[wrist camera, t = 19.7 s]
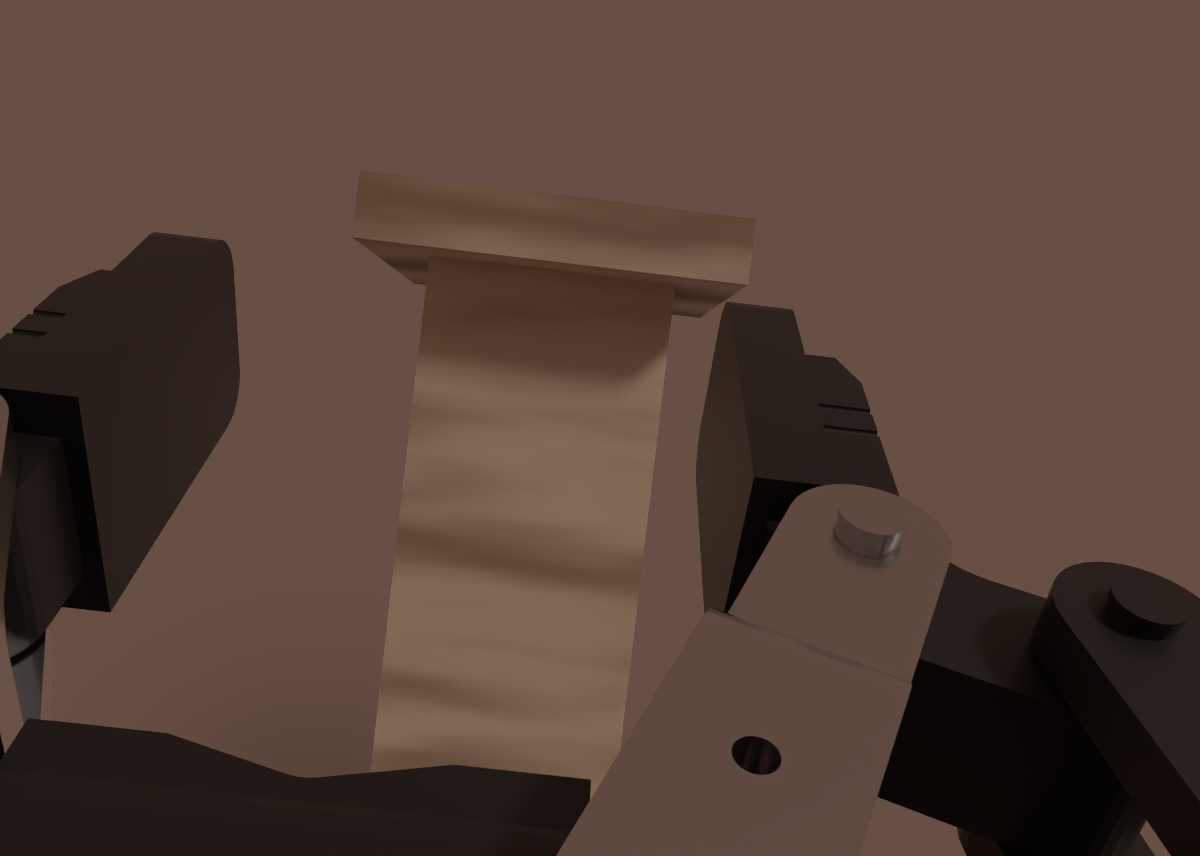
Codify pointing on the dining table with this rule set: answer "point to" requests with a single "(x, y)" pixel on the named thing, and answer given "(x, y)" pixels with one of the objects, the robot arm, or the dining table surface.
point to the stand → (529, 461)
